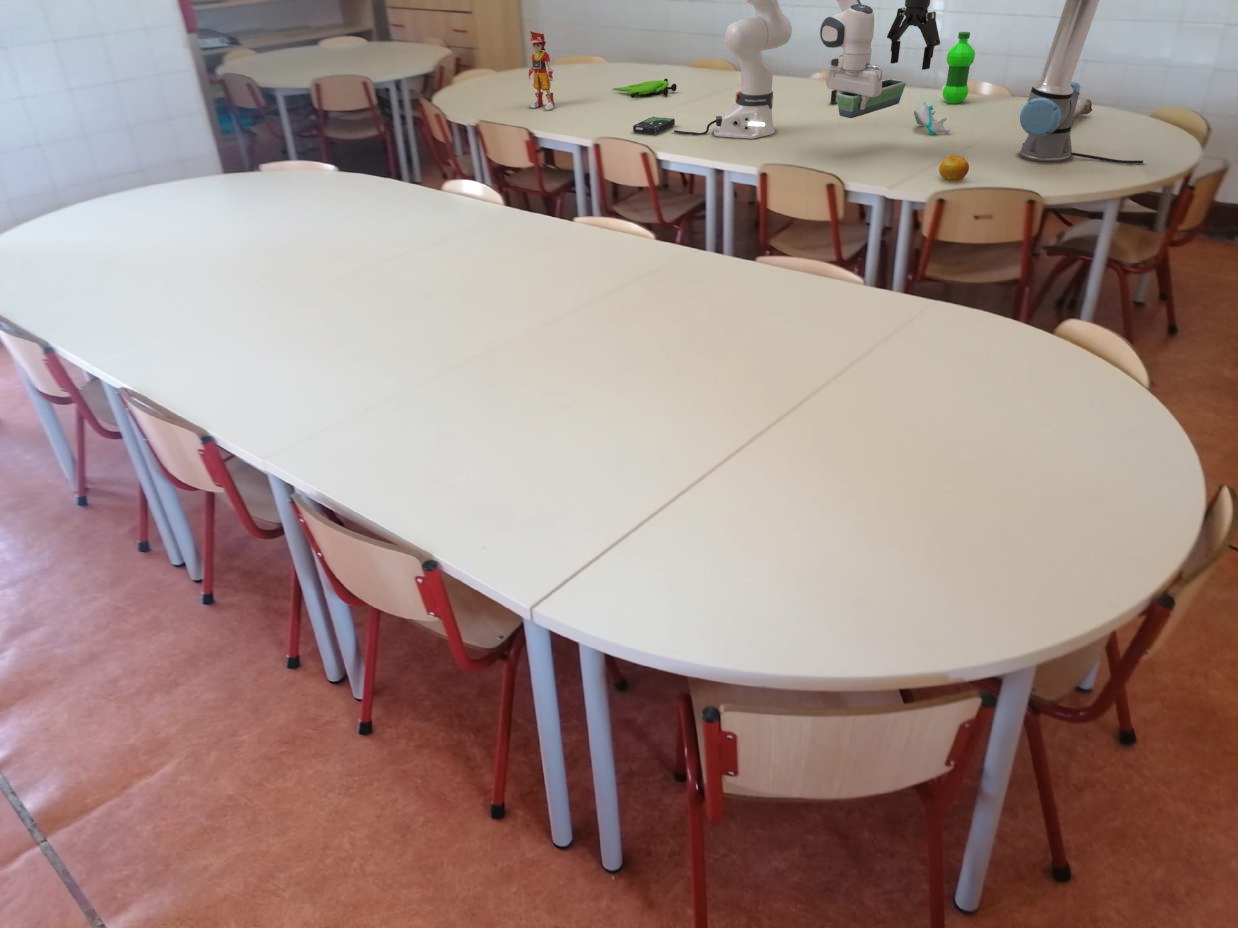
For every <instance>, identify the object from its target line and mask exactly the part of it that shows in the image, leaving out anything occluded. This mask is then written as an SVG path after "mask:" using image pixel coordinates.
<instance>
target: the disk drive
mask: <svg viewBox="0 0 1238 928" xmlns="http://www.w3.org/2000/svg"><path fill="white" fill-rule="evenodd" d="M675 125H676V120H675V118H671V117H659V116H650V117H648V118H646V119H644V120H642V121H640V122H638V123H635V124H634V125H632V132H633V133H637V134H643V135H644V134H645V135H654V136H655V135H659V134H660V133H663V132H665V131H666V130H668V129H670V128H672V127H674V126H675Z"/></svg>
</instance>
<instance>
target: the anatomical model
mask: <svg viewBox="0 0 1238 928" xmlns="http://www.w3.org/2000/svg"><path fill="white" fill-rule="evenodd" d="M935 113H936V110H934V107H933V105H930V103H929V102H926V101H924V102H923V104H922V106H920V107H919V108H916V109H914V111H913V115H914V119H915V121H916V124H917V125H918V126H924V127H925V128H926V130H927V132H928V133H929V134H930V135H937V134H939V133H950V132H951V128H946V127H945V126H944V123H945V122H946V121H947V120H948V118H947V117H942V118H940V119H939V120H938V119H935V118H934V117H933V115H934V114H935Z"/></svg>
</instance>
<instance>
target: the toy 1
mask: <svg viewBox="0 0 1238 928" xmlns="http://www.w3.org/2000/svg"><path fill="white" fill-rule="evenodd" d="M529 33H530V35H531V36H528V37H527V38H528V39H529V40H528V41H527V43H529V44H530V43H531V44H532V48H533V50H534V51H533V52H532V55H531V58H530V59H531V63H530V66H528V74H527V75H528V76H527V77H528V79H529V80H531V75H532V74H533V84H532V85H533V86H532V87H533V88H534V89H535V90H536V92H534V95H535V97H536V100H535V101H533V102H531V105H530V108H531V109H535V108H538V107H542V106H544V101H543V100H544V99H543V95H544V92H546V94H545V97H546V99H547V103H546V104H545V106H544V110H546V111H549V110H553V109H554V107H555V106H556V105H555V99H554V92H551V91H550V90H551V86H552V84H551V82H552V81H553V80H554V77H553V73H554V71H555V70H554V69H552V68H551V63H550V61H551V59H550V58H551V57H550V54H549V53H548V52H547V50H546V48H545V46H546V44H547V41H545V35H544V33H543V32H542V33H539V32H535V31H529Z"/></svg>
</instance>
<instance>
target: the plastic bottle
mask: <svg viewBox="0 0 1238 928" xmlns="http://www.w3.org/2000/svg"><path fill="white" fill-rule="evenodd" d="M970 36H971V32H970V31H959V32H958V36H957V39H958V42H957V43H956V44H954V45H953V46H952V47H951V48H950V49H949V50H948V52H947V54H946V63H947V64H948V69H947V70H948V71H947V76H946V77H947V78H946V84H945V85H944V87H943V90H942V97H943V99H944V100H945V101H946V102H947V103H948V104H960V103H961V102H963V101H964V100H966V98H967V96H968V95H969V85H968V79H969V73H970V67H971V65H972V64H973V63H974V61H975V57H976V51H975V49H974V47H972V45H971V44H970V43H969V42H968V41H969V39H970V38H971V37H970Z"/></svg>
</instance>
